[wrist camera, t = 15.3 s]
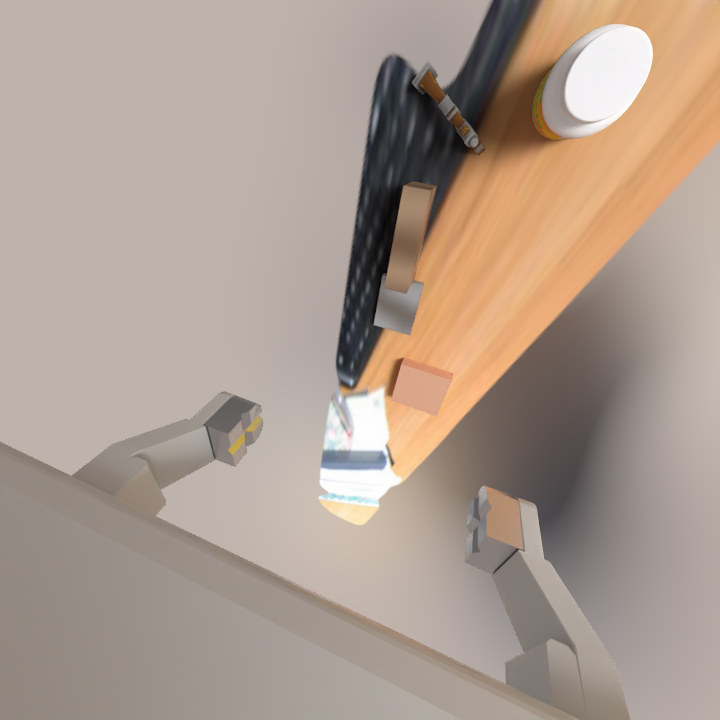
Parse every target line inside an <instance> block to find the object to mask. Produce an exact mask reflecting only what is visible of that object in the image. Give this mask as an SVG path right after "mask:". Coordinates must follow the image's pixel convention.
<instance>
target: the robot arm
mask: <svg viewBox="0 0 720 720" xmlns="http://www.w3.org/2000/svg"><path fill="white" fill-rule="evenodd" d="M261 412H262V410H261V405H259V404H256V403H254V402H251V401H249V400H246V399H243V398H241V397H238V396H236V395H233V394H231V393H228V392H221V393H219V394H218V395H217V396H216V397H215V398H214V399H212V400H211V401H210V402H209V403H208V404H207V405H206V406H205V407H203V408H202V409H201V410H200V411H199V412H198V413H197V414H196V415H195V416H193V418H191V419H190V420H189V419H184V420H181V421H178V422H176V423H172V424H170V425H166V426H164V427H161V428H158V429H155V430H152V431H149V432H146V433H144V434H140V435H137V436H135V437H132V438H129V439H126V440H123V441H120V442H117V443H114V444H112V445H111V446H109V447H108V448H107V449H105V450H104V451H103V452H101V453H100V454H99V455H98V456H97V457H95V458H94V459H92V460H91V461H90V462H89V463H87V464H86V465H85V466H83V467H82V468H81V469H80V470H79V471H77V472H76V473H75V474H73V475H72V476H71V475H68V474H66V473H64V472H62V471H60V470H58V469H56V468H54V467H52V466H50V465H48V464H45V463H43V462H41V461H39V460H37V459H35V458H33V457H31V456H29V455H27V454H24V453H22V452H20V451H18V450H16V449H14V448H12V447H10V446H8V445H6V444H4V443H2V442H0V720H630V717H629V713H628V709H627V706H626V702H625V697H624V693H623V689H622V685H621V681H620V677H619V674H618V669H617V666H616V664H615V663H614V661H613V660H612V658H611V657H610V655H609V654H608V652H607V650H606V649H605V647H604V646H603V644H602V643H601V641H600V639H599V638H598V636H597V635H596V633H595V632H594V630H593V629H592V627H591V626H590V624H589V622H588V621H587V619H586V618H585V616H584V615H583V613H582V612H581V610H580V609H579V607H578V605H577V604H576V603H575V601H574V599H573V598H572V596H571V595H570V593H569V592H568V590H567V589H566V587H565V585H564V584H563V582H562V581H561V579H560V577H559V576H558V574H557V573H556V571H555V570H554V568H553V567H552V565H551V564H550V562H549V561H546V560H544V556H543V549H542V543H541V536H540V529H539V523H538V516H537V508H536V506H535V504H533V503H531V502H528V501H525V500H522V499H520V498H516V497H515V496H512V495H510V494H507V493H504V492H501V491H498V490H495V489H492V488H489V487H486V486H483V487H482V488H481V490H480V491H479V498H475V499H474V500H473V502H472V503H471V506H470V509H469V512H468V517H467V528H468V530H469V532H470V536H469V537H468V539H467V540H466V551H465V562H466V563H468V564H470V565H472V566H475V567H477V568H479V569H481V570H484V571H486V572H488V573H491V574H493V575H492V577H493V579H494V582H495V584H496V586H497V589H498V591H499V594H500V596H501V598H502V601H503V603H504V606H505V608H506V611H507V613H508V615H509V617H510V620H511V623H512V625H513V627H514V630H515V632H516V635H517V637H518V639H519V642H520V644H521V646H522V649H523V651H524V652H523V653H521V654H520V655H518V656H516V657H514V658H512V659H510V660H508V661H507V662H506V663H505V664H506V665H505V668H506V684H505V683H503V682H501V681H498V680H496V679H494V678H492V677H490V676H488V675H486V674H484V673H482V672H480V671H478V670H475V669H474V668H471V667H469V666H467V665H465V664H463V663H461V662H459V661H457V660H455V659H453V658H450V657H448V656H446V655H444V654H442V653H440V652H438V651H436V650H434V649H431V648H430V647H427V646H425V645H423V644H421V643H419V642H417V641H415V640H413V639H411V638H409V637H407V636H405V635H403V634H400V633H398V632H396V631H394V630H392V629H390V628H388V627H386V626H384V625H382V624H379V623H377V622H375V621H373V620H371V619H369V618H367V617H365V616H363V615H361V614H359V613H356V612H354V611H352V610H350V609H348V608H346V607H344V606H342V605H340V604H338V603H336V602H334V601H331V600H329V599H327V598H325V597H323V596H321V595H319V594H317V593H315V592H313V591H311V590H308V589H307V588H304V587H302V586H300V585H298V584H296V583H294V582H292V581H290V580H288V579H286V578H284V577H281V576H279V575H277V574H275V573H273V572H271V571H269V570H267V569H265V568H263V567H261V566H258V565H256V564H254V563H252V562H250V561H248V560H246V559H244V558H242V557H240V556H238V555H236V554H233V553H231V552H229V551H227V550H225V549H223V548H221V547H219V546H217V545H215V544H212V543H210V542H208V541H206V540H204V539H202V538H200V537H198V536H196V535H194V534H192V533H190V532H188V531H185V530H183V529H181V528H179V527H177V526H175V525H173V524H171V523H169V522H167V521H164V520H162V519H160V518H158V517H156V515H157V514H158V512H159V511H160V510H161V509H162V508H163V507H164V506H165V505H166V500H165V498H164V496H163V494H162V492H161V489H163V488H164V487H166V486H168V485H170V484H172V483H174V482H176V481H177V480H179V479H181V478H183V477H185V476H187V475H188V474H190V473H192V472H194V471H196V470H198V469H200V468H201V467H203V466H205V465H207V464H209V463H211V462H213V461H214V460H215V459H216V460H219V461H221V462H224V463H227V464H229V465H232V466H236V465H237V464H238V462H239V461H240V460H241V459H242V457H243V456H244V455H245V454H246V450H247V448H246V447H247V446H249V445H251V444H253V443H254V442H255V441H256V440H257V439H258V437H259V435H260V433H261V431H262V426H263V420H262V418H261V417H260V416H259V414H260V413H261Z"/></svg>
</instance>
